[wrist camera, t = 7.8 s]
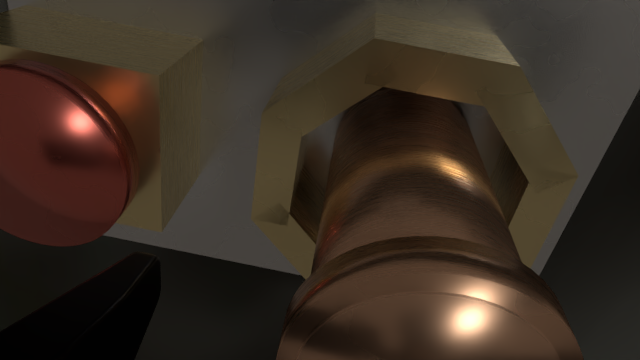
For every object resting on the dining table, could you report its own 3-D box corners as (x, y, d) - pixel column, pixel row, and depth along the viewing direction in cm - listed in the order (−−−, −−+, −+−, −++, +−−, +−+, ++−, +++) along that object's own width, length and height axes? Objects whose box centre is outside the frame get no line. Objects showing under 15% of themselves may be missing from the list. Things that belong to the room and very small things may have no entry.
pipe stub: (506, 91, 13) (651, 315, 6) (456, 227, 15) (520, 498, 8) (337, 62, 13) (290, 250, 6) (313, 201, 15) (262, 450, 9)
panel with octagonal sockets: (669, -14, 12) (838, 42, 8) (509, 298, 18) (552, 436, 13) (10, -139, 12) (-206, -157, 8) (62, 207, 18) (-46, 313, 14)
